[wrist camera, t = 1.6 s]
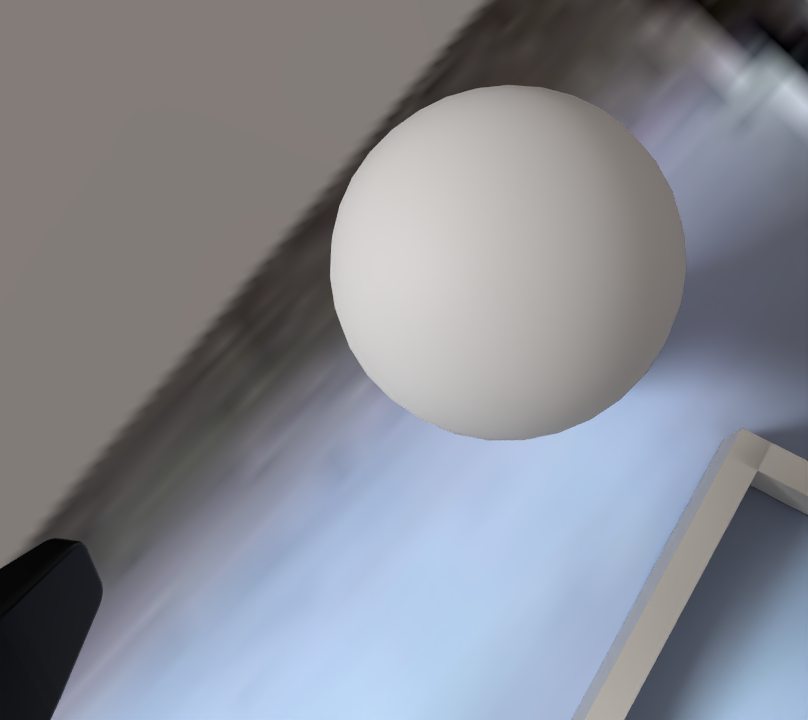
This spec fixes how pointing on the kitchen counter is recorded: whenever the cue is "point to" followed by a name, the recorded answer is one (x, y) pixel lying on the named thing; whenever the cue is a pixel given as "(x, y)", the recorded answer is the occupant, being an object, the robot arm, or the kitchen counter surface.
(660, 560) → the socket board
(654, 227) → the lightbulb
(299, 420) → the kitchen counter surface
